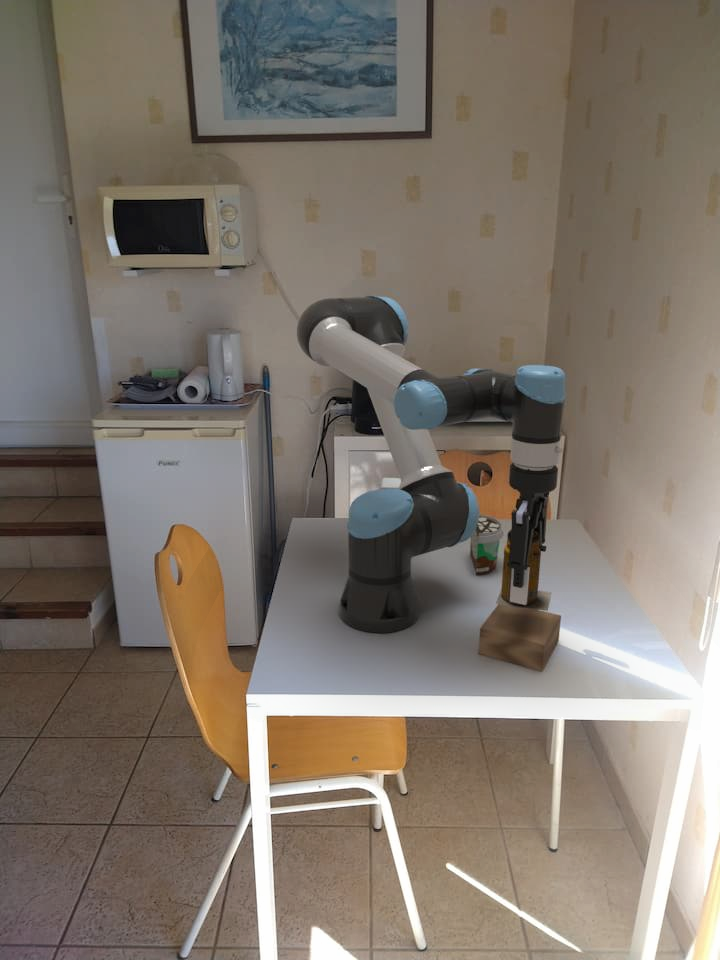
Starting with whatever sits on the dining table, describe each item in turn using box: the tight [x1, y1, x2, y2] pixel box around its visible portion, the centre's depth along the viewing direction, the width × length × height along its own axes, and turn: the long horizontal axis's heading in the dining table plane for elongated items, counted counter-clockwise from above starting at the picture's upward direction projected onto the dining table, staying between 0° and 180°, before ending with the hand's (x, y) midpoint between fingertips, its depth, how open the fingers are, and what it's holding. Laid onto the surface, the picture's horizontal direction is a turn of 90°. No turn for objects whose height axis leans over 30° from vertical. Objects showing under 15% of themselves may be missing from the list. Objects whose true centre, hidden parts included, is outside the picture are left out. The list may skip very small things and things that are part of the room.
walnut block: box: [478, 604, 562, 672], centre depth 124 cm, size 11×11×5 cm
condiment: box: [495, 529, 552, 612], centre depth 120 cm, size 7×8×12 cm
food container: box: [469, 513, 504, 576], centre depth 155 cm, size 12×6×10 cm, turn 179°
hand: (524, 593), depth 121 cm, fingers closed on condiment, 6 cm apart
